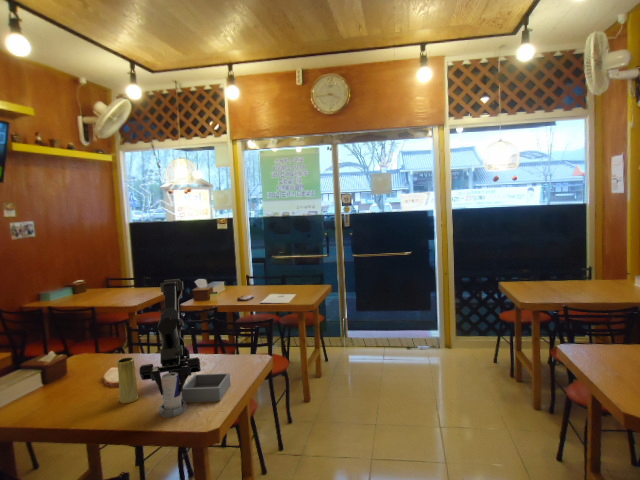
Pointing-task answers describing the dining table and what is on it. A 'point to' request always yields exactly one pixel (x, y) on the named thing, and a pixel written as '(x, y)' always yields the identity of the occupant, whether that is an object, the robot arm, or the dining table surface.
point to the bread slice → (112, 377)
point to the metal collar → (173, 410)
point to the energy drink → (171, 391)
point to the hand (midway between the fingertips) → (171, 393)
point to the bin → (206, 387)
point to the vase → (127, 380)
